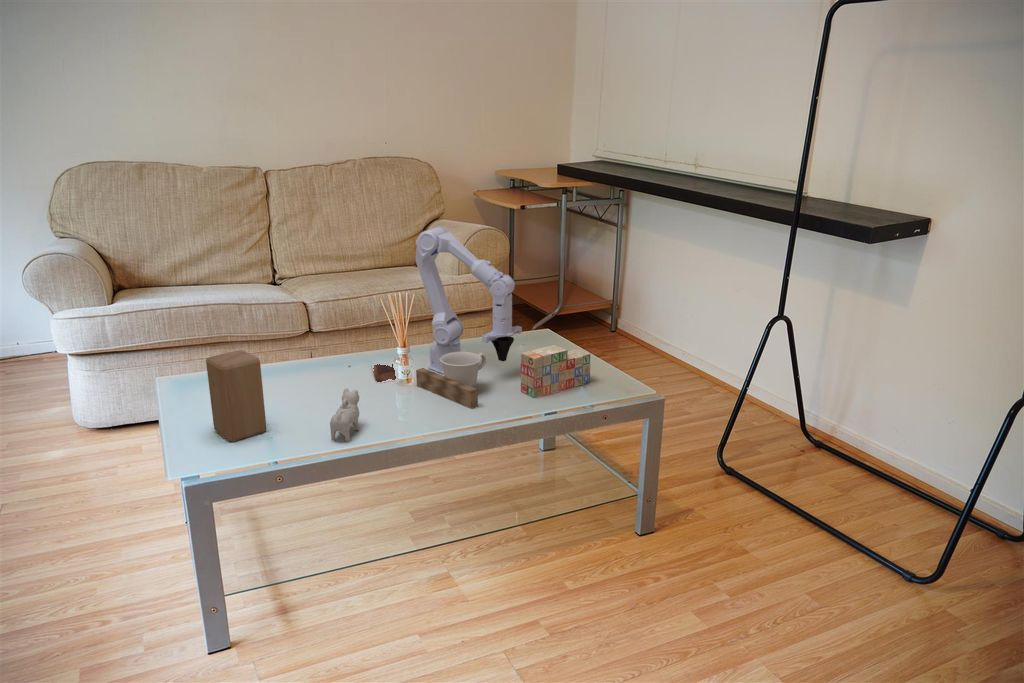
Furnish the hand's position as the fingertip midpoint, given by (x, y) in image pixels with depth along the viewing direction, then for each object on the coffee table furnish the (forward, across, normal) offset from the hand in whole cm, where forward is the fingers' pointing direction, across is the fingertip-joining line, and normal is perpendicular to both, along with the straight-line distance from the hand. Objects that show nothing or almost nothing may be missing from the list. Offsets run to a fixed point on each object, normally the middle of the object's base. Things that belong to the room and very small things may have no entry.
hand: (502, 360), depth 234 cm
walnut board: (+5, -22, 0) cm, 23 cm away
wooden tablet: (+6, -20, +31) cm, 37 cm away
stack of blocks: (+6, +6, -17) cm, 19 cm away
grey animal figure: (+6, -56, -2) cm, 57 cm away
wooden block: (+6, -76, +17) cm, 78 cm away
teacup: (+6, -15, 0) cm, 16 cm away
